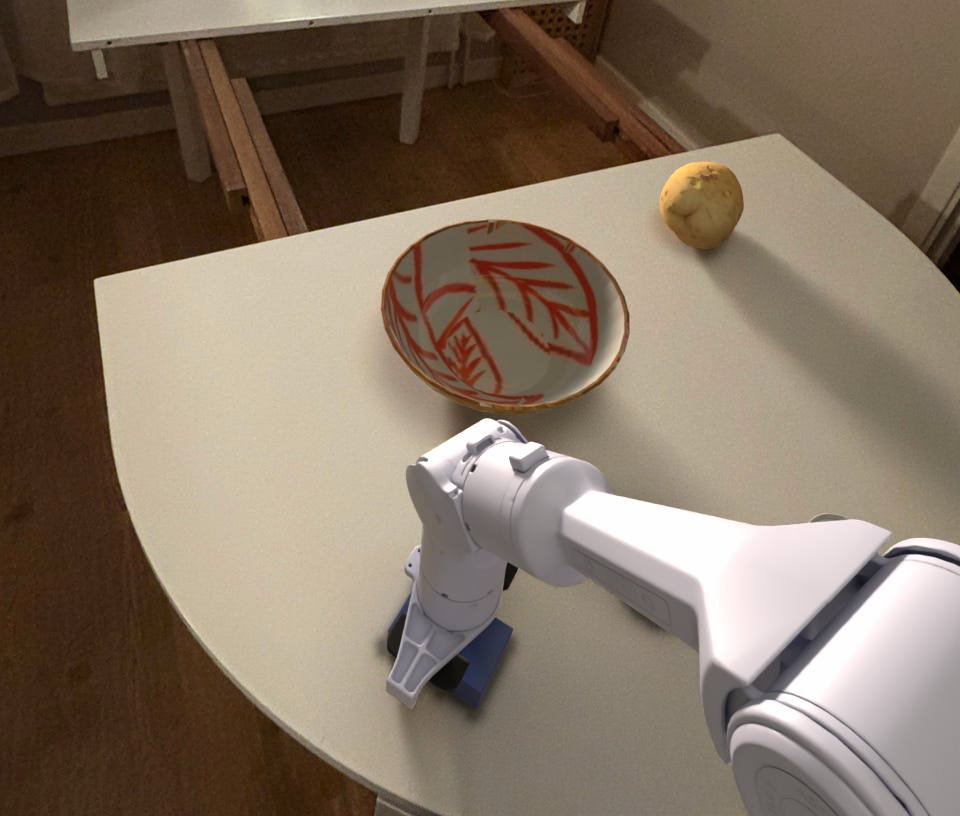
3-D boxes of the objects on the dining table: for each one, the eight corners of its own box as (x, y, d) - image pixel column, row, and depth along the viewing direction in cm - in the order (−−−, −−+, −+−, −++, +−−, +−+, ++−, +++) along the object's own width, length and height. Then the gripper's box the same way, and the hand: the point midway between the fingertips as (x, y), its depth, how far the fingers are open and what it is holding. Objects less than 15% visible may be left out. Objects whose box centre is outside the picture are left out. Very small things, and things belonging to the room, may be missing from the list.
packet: (508, 646, 60) (513, 627, 57) (476, 711, 56) (480, 694, 54) (422, 589, 62) (424, 570, 60) (386, 649, 59) (387, 630, 57)
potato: (737, 214, 104) (760, 156, 98) (722, 273, 95) (747, 213, 88) (664, 190, 106) (682, 132, 100) (642, 245, 97) (661, 185, 91)
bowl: (555, 251, 95) (566, 202, 90) (657, 421, 77) (677, 372, 72) (356, 290, 87) (355, 239, 82) (418, 490, 69) (422, 441, 64)
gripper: (466, 442, 56) (453, 531, 65) (345, 624, 46) (349, 702, 54) (552, 490, 54) (527, 576, 62) (445, 694, 44) (433, 764, 52)
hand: (449, 638), depth 58 cm, fingers closed on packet, 5 cm apart
